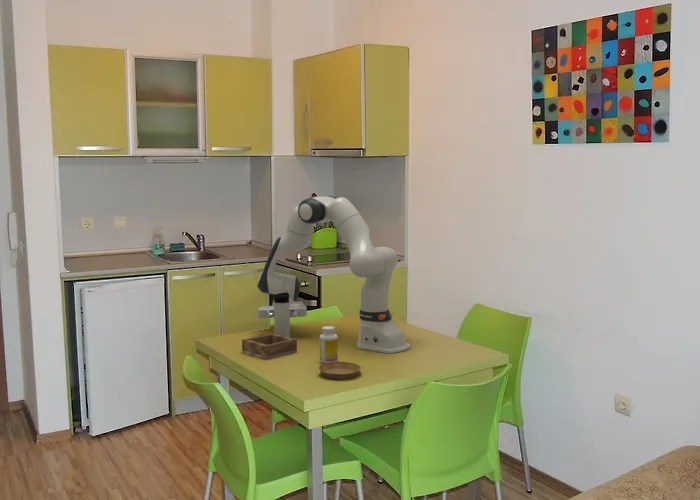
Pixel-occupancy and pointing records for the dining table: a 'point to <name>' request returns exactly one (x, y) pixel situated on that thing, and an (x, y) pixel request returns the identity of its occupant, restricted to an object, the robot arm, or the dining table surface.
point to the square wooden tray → (269, 346)
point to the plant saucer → (339, 370)
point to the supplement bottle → (328, 345)
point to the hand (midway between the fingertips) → (282, 315)
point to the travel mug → (282, 314)
